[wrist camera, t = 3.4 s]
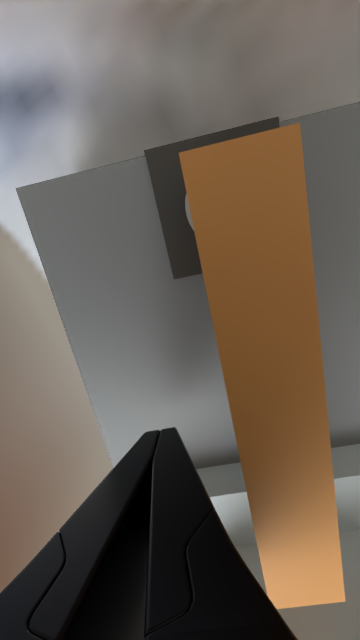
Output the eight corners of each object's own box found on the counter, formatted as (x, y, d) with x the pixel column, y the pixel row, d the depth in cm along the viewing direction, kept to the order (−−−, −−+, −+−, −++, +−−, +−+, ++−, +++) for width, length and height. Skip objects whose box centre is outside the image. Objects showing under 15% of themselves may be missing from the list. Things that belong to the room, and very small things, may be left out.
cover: (376, 441, 10) (489, 583, 7) (380, 549, 12) (475, 720, 8) (160, 474, 11) (144, 622, 7) (190, 574, 13) (190, 742, 9)
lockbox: (342, 126, 12) (433, 77, 7) (363, 467, 16) (426, 561, 12) (73, 192, 13) (12, 183, 8) (164, 496, 17) (156, 594, 13)
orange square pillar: (254, 155, 8) (307, 111, 4) (296, 470, 11) (350, 601, 7) (178, 173, 8) (170, 146, 4) (240, 478, 11) (265, 610, 7)
